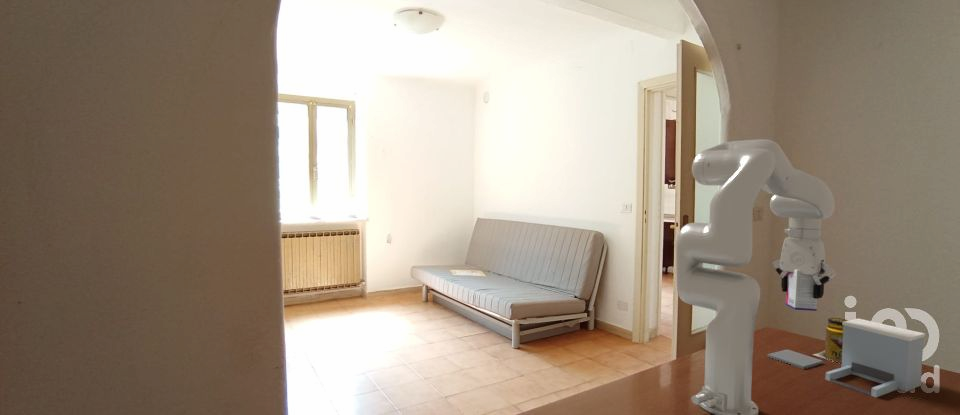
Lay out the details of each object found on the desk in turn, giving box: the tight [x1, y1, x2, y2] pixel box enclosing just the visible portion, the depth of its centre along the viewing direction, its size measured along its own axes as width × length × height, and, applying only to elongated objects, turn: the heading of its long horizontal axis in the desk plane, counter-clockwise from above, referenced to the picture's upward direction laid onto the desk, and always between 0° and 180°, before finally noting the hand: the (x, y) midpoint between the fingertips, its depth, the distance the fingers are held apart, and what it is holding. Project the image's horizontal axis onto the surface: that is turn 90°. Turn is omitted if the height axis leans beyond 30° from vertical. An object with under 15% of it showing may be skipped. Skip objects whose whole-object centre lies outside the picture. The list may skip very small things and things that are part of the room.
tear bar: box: [829, 379, 872, 397], centre depth 114 cm, size 1×9×1 cm, turn 26°
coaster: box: [766, 348, 824, 370], centre depth 132 cm, size 10×10×1 cm
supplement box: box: [785, 269, 819, 312], centre depth 129 cm, size 6×6×12 cm
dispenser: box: [824, 318, 926, 398], centre depth 118 cm, size 19×14×14 cm
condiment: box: [812, 317, 849, 363], centre depth 134 cm, size 7×8×12 cm
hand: (801, 294), depth 129 cm, fingers closed on supplement box, 7 cm apart
